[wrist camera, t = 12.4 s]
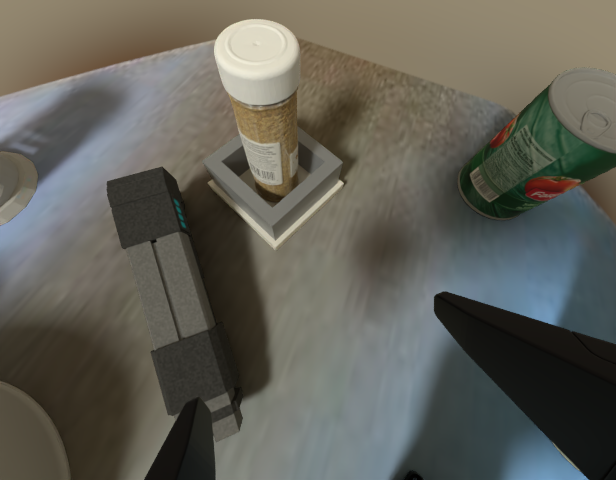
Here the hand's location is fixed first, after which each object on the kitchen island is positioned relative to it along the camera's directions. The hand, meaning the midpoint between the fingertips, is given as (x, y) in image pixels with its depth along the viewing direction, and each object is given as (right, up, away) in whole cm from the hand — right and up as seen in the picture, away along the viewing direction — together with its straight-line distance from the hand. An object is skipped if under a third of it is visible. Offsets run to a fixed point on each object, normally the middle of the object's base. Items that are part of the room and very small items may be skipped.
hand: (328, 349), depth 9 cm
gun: (-11, -1, +14) cm, 18 cm away
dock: (-4, +10, +18) cm, 20 cm away
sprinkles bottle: (-4, +10, +17) cm, 20 cm away
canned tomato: (+20, +10, +19) cm, 29 cm away
